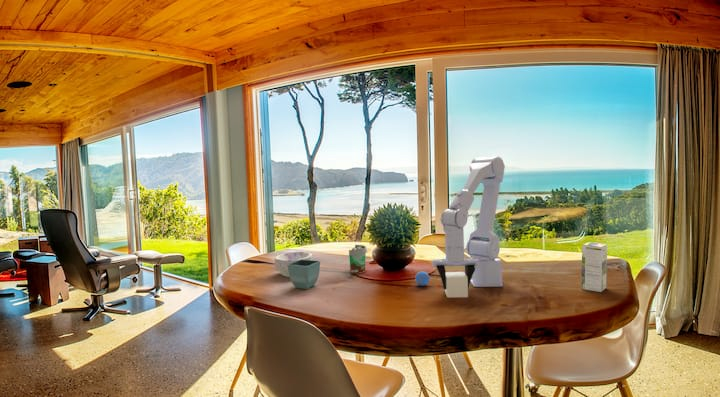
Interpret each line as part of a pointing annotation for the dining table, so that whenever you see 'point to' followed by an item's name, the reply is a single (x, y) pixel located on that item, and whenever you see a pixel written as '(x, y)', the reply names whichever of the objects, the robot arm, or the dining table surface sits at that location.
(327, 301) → the dining table surface
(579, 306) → the dining table surface
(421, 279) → the ball
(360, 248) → the food container
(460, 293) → the white cube block
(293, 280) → the flower pot
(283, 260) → the paper bowls
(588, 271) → the syrup box
